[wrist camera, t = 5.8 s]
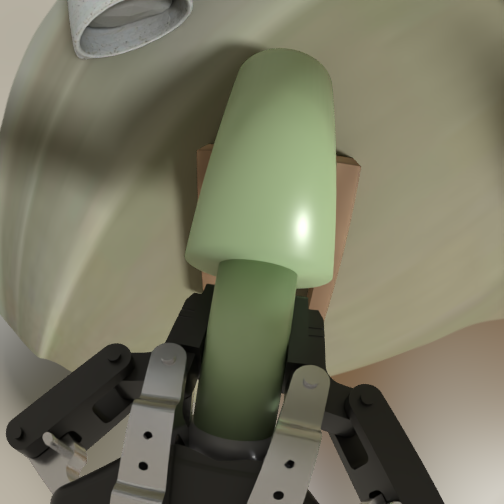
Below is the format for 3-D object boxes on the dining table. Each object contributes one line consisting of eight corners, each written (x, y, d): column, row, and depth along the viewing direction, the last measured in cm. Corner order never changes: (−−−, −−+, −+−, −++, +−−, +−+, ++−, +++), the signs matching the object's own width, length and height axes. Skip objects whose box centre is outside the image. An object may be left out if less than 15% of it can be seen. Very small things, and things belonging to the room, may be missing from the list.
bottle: (339, 56, 11) (316, 489, 5) (324, 124, 16) (295, 434, 11) (233, 45, 11) (128, 454, 6) (240, 115, 17) (179, 414, 11)
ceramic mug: (177, -51, 9) (126, -90, 3) (211, 13, 13) (159, -24, 6) (76, 18, 13) (11, 14, 6) (97, 83, 16) (25, 93, 10)
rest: (352, 158, 17) (360, 166, 15) (311, 339, 26) (311, 358, 24) (208, 143, 18) (196, 150, 16) (214, 326, 27) (208, 344, 25)
